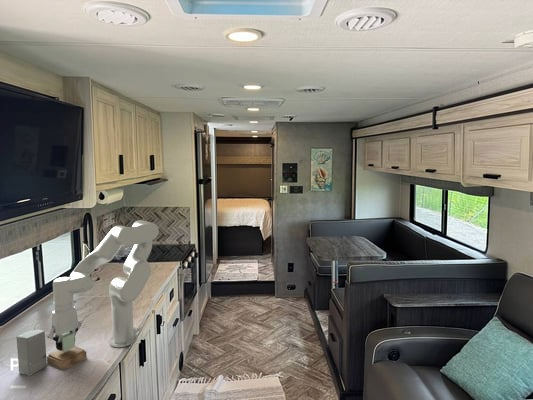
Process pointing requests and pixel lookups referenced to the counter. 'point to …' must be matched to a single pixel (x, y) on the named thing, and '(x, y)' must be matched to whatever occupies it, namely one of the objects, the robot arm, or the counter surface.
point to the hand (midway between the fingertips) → (65, 346)
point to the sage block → (68, 341)
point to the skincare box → (31, 351)
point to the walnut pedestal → (66, 357)
